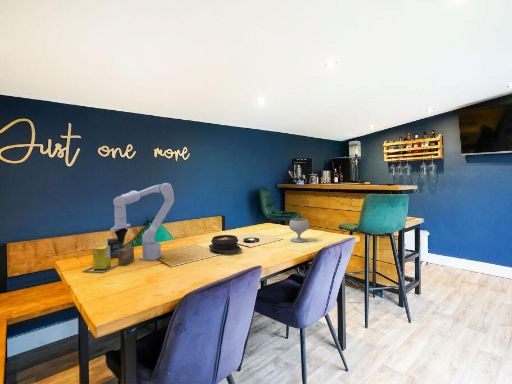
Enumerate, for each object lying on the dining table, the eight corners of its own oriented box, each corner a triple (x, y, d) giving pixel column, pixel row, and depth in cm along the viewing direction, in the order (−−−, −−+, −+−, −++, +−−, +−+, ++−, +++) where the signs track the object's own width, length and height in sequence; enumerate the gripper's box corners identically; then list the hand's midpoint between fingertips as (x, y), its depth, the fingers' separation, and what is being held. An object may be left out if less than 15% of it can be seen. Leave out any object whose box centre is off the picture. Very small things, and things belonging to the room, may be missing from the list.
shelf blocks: (134, 261, 155) (133, 246, 154) (125, 265, 147) (124, 250, 146) (104, 259, 158) (104, 245, 157) (94, 264, 150) (93, 249, 149)
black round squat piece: (249, 252, 172) (248, 238, 172) (222, 257, 161) (222, 243, 160) (226, 244, 192) (226, 232, 191) (201, 249, 180) (201, 236, 180)
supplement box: (99, 266, 146) (98, 245, 145) (111, 266, 146) (110, 245, 146) (93, 270, 140) (92, 248, 139) (105, 270, 140) (104, 248, 140)
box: (109, 259, 160) (108, 240, 159) (107, 256, 165) (107, 238, 164) (124, 256, 164) (123, 238, 164) (122, 254, 169) (122, 236, 168)
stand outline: (117, 266, 146) (117, 265, 146) (103, 273, 136) (103, 272, 136) (98, 265, 148) (98, 264, 148) (82, 272, 138) (82, 271, 137)
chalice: (312, 239, 203) (312, 219, 203) (304, 243, 192) (304, 221, 191) (294, 237, 211) (294, 217, 210) (285, 241, 199) (285, 220, 198)
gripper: (122, 216, 164) (123, 239, 164) (104, 219, 149) (105, 245, 150) (133, 216, 162) (134, 239, 163) (117, 220, 148) (117, 245, 149)
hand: (121, 242), depth 157 cm, fingers closed
